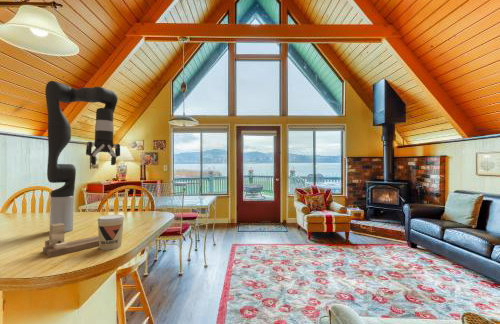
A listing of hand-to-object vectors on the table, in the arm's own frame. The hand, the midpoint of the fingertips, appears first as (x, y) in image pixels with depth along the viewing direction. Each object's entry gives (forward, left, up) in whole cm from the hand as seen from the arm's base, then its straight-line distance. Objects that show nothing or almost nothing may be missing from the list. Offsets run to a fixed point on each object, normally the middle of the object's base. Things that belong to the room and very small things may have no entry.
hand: (103, 165), depth 115 cm
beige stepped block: (+10, -20, -33) cm, 39 cm away
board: (+11, -14, -33) cm, 37 cm away
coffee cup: (+20, -6, -33) cm, 39 cm away
